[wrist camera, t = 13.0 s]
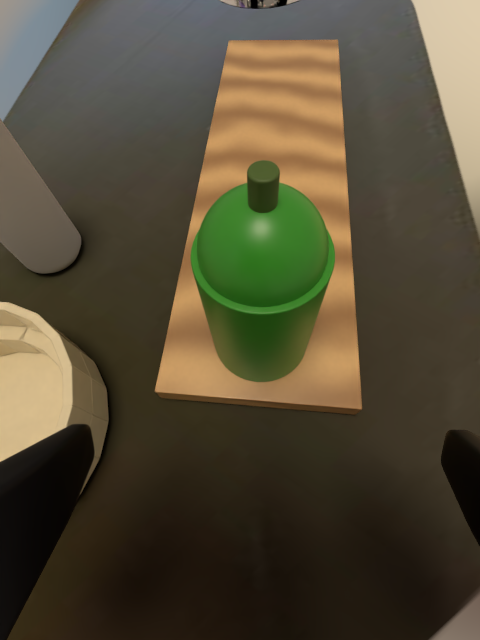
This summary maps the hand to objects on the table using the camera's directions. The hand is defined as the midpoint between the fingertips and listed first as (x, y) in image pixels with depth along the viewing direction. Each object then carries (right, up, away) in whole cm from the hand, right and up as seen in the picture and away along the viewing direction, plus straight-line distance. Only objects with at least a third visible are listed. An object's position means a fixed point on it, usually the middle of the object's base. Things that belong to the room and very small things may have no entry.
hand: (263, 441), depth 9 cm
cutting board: (+2, +16, +21) cm, 26 cm away
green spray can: (+1, +2, +13) cm, 13 cm away
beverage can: (-15, +8, +19) cm, 26 cm away
